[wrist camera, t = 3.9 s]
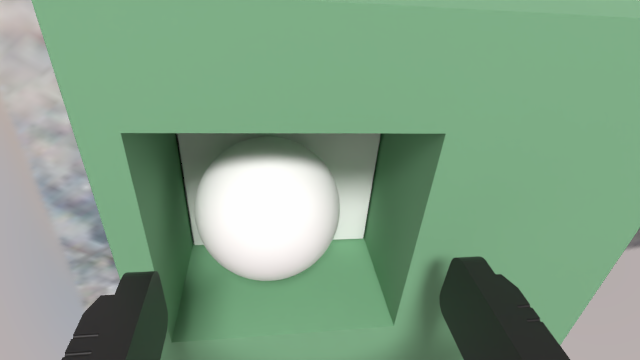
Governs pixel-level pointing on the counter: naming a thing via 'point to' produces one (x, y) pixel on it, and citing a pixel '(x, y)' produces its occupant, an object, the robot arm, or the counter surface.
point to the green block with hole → (361, 155)
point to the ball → (267, 208)
